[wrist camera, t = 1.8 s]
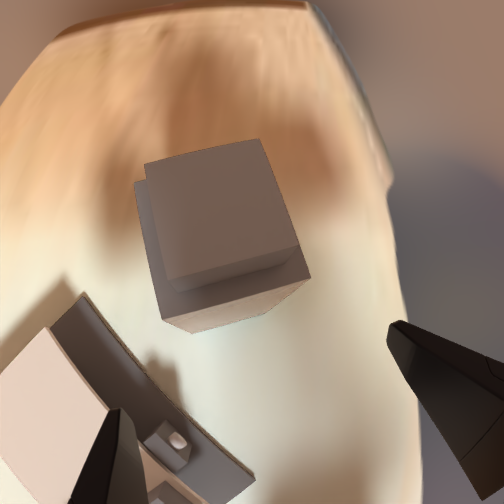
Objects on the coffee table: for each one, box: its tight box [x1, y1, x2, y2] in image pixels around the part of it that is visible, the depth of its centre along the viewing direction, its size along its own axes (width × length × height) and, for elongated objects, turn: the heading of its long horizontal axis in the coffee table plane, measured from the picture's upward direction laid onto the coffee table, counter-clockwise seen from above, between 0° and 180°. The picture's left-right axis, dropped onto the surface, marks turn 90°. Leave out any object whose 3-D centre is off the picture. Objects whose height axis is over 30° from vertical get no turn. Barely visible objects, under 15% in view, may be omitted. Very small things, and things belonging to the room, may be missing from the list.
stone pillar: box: [134, 139, 311, 334], centre depth 15 cm, size 5×5×13 cm
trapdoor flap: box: [0, 327, 209, 504], centre depth 12 cm, size 14×10×3 cm
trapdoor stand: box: [50, 296, 256, 504], centre depth 15 cm, size 17×15×4 cm
